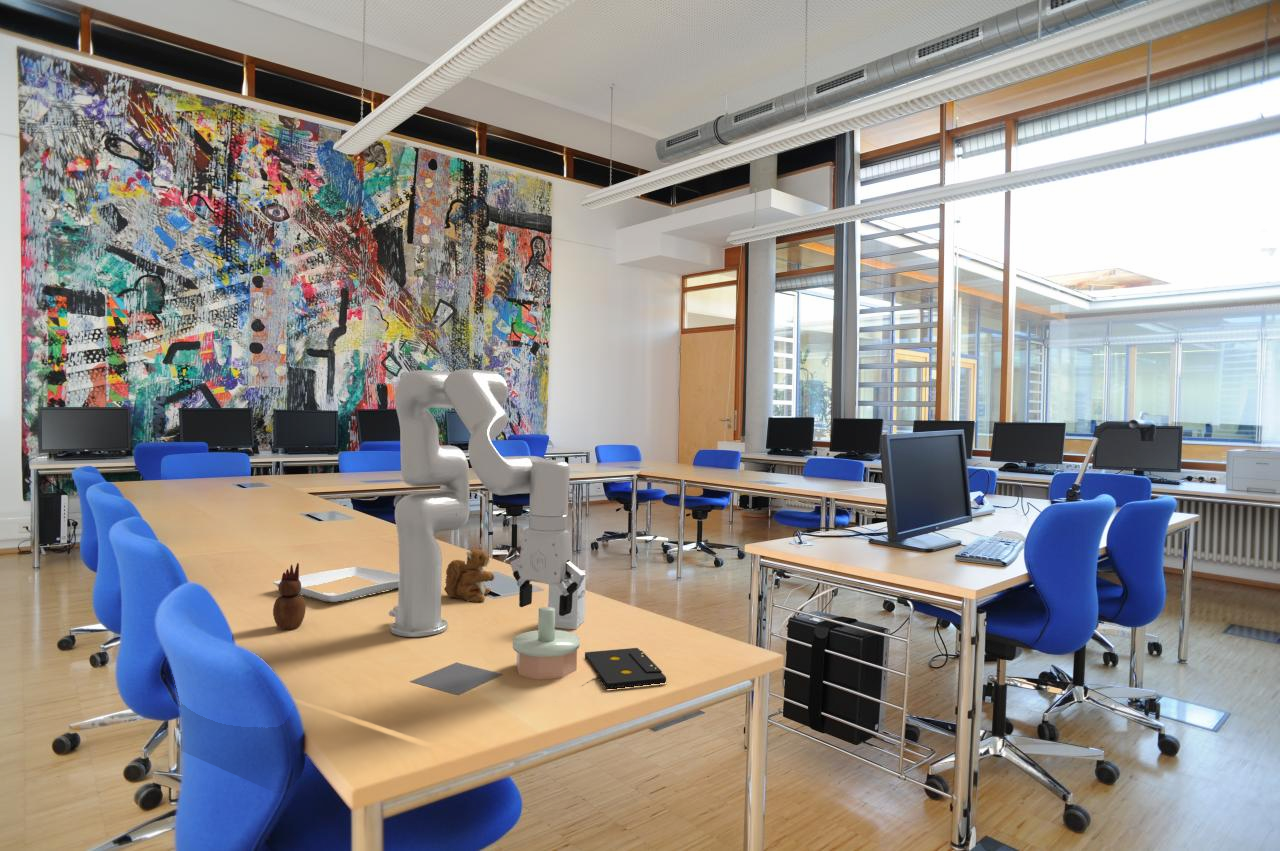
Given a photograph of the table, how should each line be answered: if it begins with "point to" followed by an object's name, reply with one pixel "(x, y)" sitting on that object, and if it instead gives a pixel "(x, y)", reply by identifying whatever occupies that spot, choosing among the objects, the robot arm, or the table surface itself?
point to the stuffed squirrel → (469, 577)
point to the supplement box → (577, 609)
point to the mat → (456, 678)
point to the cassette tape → (624, 668)
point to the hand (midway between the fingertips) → (544, 609)
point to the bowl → (546, 666)
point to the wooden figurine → (289, 601)
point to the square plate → (379, 576)
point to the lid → (546, 638)
